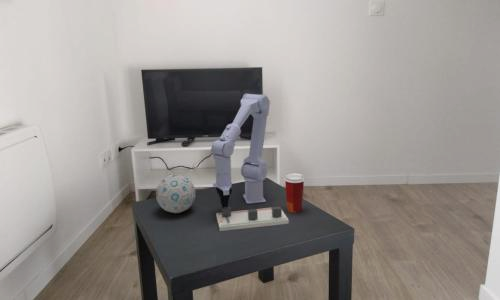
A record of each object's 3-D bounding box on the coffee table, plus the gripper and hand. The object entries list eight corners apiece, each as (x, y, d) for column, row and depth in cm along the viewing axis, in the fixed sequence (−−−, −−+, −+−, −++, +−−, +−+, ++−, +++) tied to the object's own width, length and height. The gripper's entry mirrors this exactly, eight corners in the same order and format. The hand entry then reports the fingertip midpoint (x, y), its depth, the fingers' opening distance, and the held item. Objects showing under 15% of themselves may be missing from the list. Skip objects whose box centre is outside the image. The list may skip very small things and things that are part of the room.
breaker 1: (221, 214, 140) (221, 207, 140) (230, 213, 141) (229, 206, 140) (222, 216, 139) (222, 209, 138) (231, 215, 139) (230, 208, 138)
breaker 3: (271, 214, 139) (271, 207, 138) (280, 214, 140) (280, 206, 139) (273, 217, 137) (273, 209, 136) (281, 216, 138) (281, 208, 137)
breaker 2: (247, 217, 137) (247, 209, 137) (256, 216, 138) (256, 208, 137) (248, 219, 136) (248, 212, 135) (257, 218, 136) (257, 211, 135)
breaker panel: (216, 216, 143) (216, 213, 142) (279, 210, 147) (279, 206, 147) (219, 231, 132) (219, 227, 131) (288, 223, 136) (288, 219, 136)
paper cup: (305, 206, 150) (305, 173, 146) (302, 214, 143) (303, 180, 139) (286, 205, 152) (286, 172, 148) (282, 213, 145) (282, 178, 141)
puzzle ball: (149, 215, 146) (146, 178, 142) (174, 201, 159) (171, 167, 155) (180, 222, 139) (177, 184, 135) (204, 207, 152) (201, 172, 148)
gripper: (210, 167, 146) (212, 199, 149) (214, 179, 132) (216, 215, 135) (228, 165, 147) (230, 198, 150) (234, 177, 133) (235, 213, 137)
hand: (224, 206), depth 143 cm, fingers closed
